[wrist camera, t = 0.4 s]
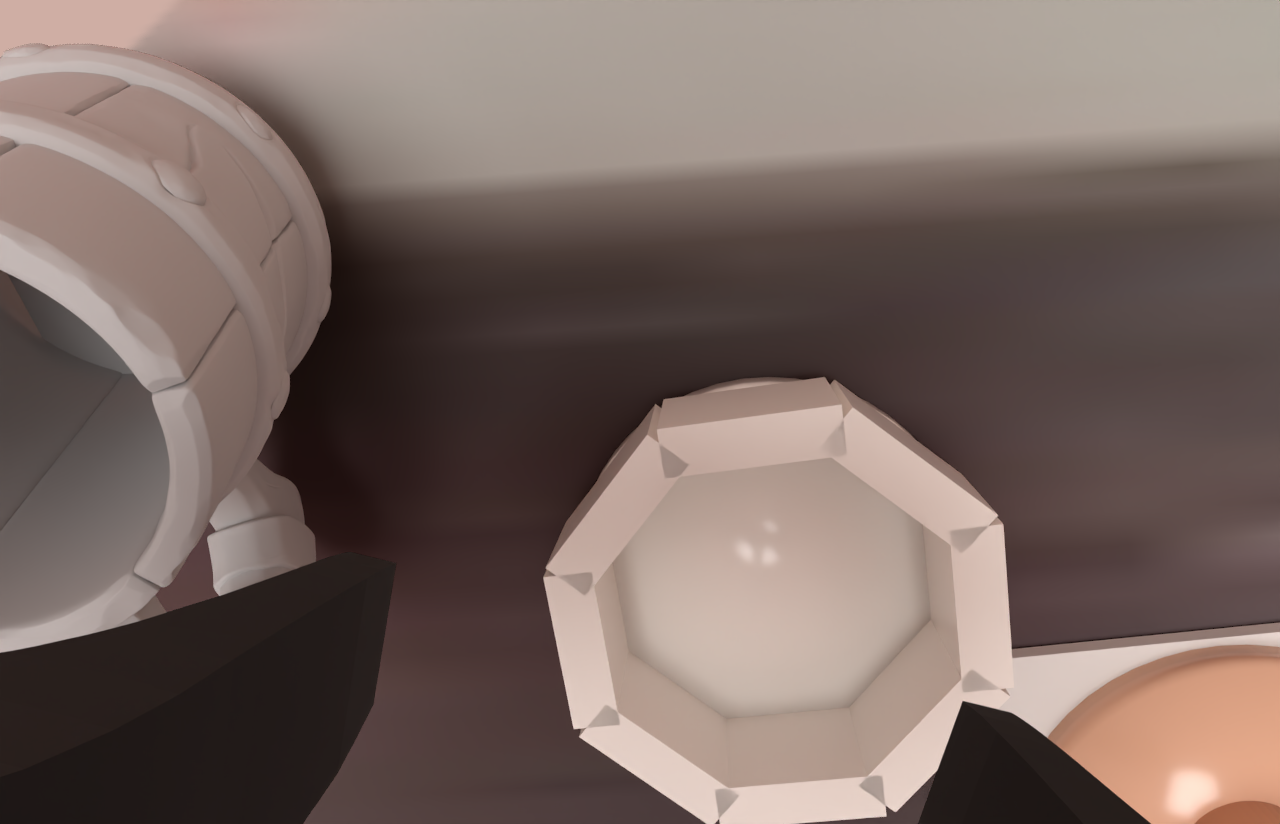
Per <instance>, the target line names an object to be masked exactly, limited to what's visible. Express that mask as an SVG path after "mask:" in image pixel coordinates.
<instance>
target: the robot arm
mask: <svg viewBox="0 0 1280 824" xmlns="http://www.w3.org/2000/svg"><path fill="white" fill-rule="evenodd" d="M395 568H396V563H393V562H389V561H385V560H381V559H377V558H373V557H369V556H364V555H360V554H356V553H352V552H347V553H342V554H338V555H335V556H331V557H328V558H325V559H322V560H319V561H316V562H314V563H311V564H308V565H305V566H302V567H299V568H297V569H294V570H291V571H288V572H286V573H283V574H280V575H277V576H275V577H272V578H269V579H266V580H263V581H261V582H258V583H255V584H252V585H249V586H247V587H244V588H241V589H238V590H235V591H232V592H230V593H227V594H224V595H221V596H218V597H215V598H212V599H209V600H205V601H202V602H199V603H196V604H192V605H189V606H186V607H183V608H180V609H176V610H173V611H170V612H167V613H163V614H160V615H157V616H154V617H151V618H147V619H144V620H141V621H138V622H134V623H130V624H127V625H123V626H119V627H116V628H112V629H108V630H104V631H100V632H96V633H92V634H88V635H83V636H79V637H74V638H70V639H65V640H61V641H56V642H52V643H47V644H43V645H38V646H34V647H29V648H23V649H18V650H13V651H7V652H1V653H0V824H303V823H304V821H305V820H306V818H307V817H308V815H309V814H310V813H311V811H312V810H313V808H314V807H315V805H316V804H317V802H318V801H319V800H320V798H321V797H322V795H323V794H324V792H325V791H326V789H327V788H328V786H329V785H330V783H331V782H332V781H333V779H334V778H335V776H336V775H337V773H338V771H339V769H340V768H341V766H342V764H343V762H344V760H345V758H346V756H347V754H348V753H349V751H350V749H351V747H352V745H353V743H354V741H355V739H356V737H357V736H358V734H359V732H360V730H361V728H362V726H363V724H364V722H365V720H366V718H367V716H368V714H369V712H370V710H371V708H372V706H373V703H374V697H375V690H376V684H377V678H378V672H379V666H380V660H381V654H382V647H383V641H384V635H385V629H386V623H387V617H388V611H389V604H390V598H391V592H392V586H393V580H394V574H395ZM918 824H1151V823H1150V822H1149V821H1147V820H1146V819H1145V818H1144V817H1142V816H1141V815H1140V814H1139V813H1138V812H1136V811H1135V810H1134V809H1133V808H1132V807H1130V806H1129V805H1128V804H1127V803H1126V802H1124V801H1123V800H1122V799H1121V798H1120V797H1118V796H1117V795H1116V794H1115V793H1114V792H1112V791H1111V790H1110V789H1109V788H1108V787H1106V786H1105V785H1104V784H1103V783H1102V782H1100V781H1099V780H1098V779H1097V778H1096V777H1094V776H1093V775H1092V774H1091V773H1090V772H1088V771H1087V770H1086V769H1085V768H1084V767H1082V766H1081V765H1080V764H1079V763H1078V762H1076V761H1075V760H1074V759H1073V758H1072V757H1070V756H1069V755H1068V754H1067V753H1066V752H1064V751H1063V750H1062V749H1061V748H1059V747H1058V746H1057V745H1056V744H1054V743H1053V742H1052V741H1051V740H1049V739H1048V738H1047V737H1046V736H1044V735H1043V734H1042V733H1040V732H1039V731H1038V730H1036V729H1035V728H1034V727H1032V726H1031V725H1030V724H1028V723H1027V722H1025V721H1024V720H1022V719H1021V718H1019V717H1018V716H1016V715H1015V714H1013V713H1011V712H1007V711H1003V710H999V709H995V708H990V707H986V706H982V705H978V704H974V703H970V702H966V701H962V704H961V707H960V710H959V712H958V715H957V718H956V721H955V723H954V726H953V729H952V732H951V734H950V737H949V740H948V743H947V745H946V748H945V751H944V754H943V756H942V759H941V762H940V765H939V767H938V770H937V773H936V776H935V778H934V781H933V784H932V787H931V790H930V792H929V795H928V798H927V801H926V803H925V806H924V809H923V812H922V814H921V817H920V820H919V823H918Z"/></svg>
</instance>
